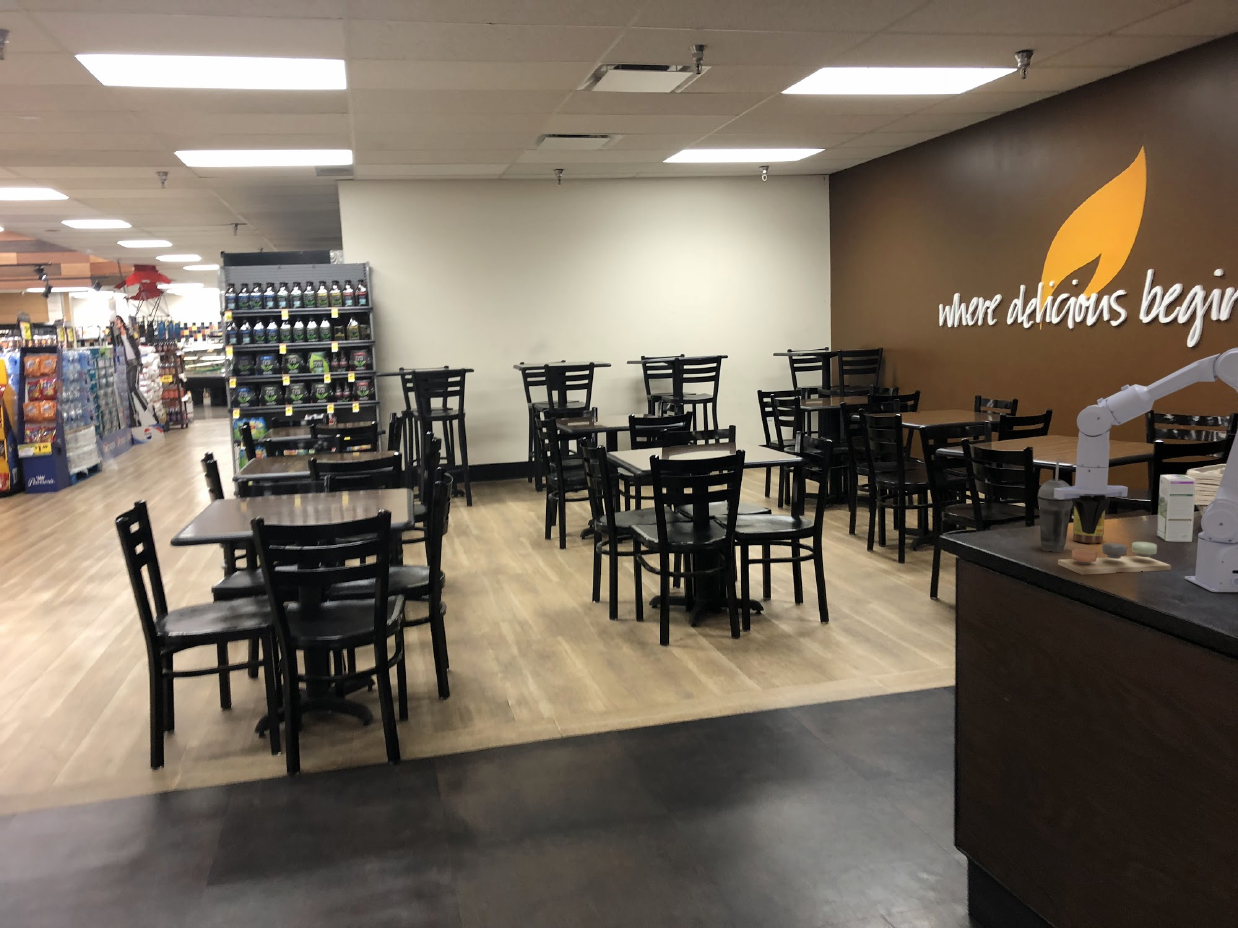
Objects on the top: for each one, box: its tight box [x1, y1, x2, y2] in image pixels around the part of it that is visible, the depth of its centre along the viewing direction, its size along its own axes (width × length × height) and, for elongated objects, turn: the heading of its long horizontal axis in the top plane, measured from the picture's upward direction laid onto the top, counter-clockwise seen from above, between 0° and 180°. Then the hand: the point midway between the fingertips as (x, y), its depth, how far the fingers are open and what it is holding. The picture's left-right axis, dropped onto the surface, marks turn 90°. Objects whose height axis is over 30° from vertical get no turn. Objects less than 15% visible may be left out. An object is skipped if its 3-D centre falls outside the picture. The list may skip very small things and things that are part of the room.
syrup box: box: [1156, 473, 1197, 543], centre depth 211 cm, size 6×6×14 cm
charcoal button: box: [1101, 542, 1128, 559], centre depth 188 cm, size 4×4×2 cm
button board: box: [1057, 555, 1172, 576], centre depth 189 cm, size 19×8×1 cm, turn 97°
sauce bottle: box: [1072, 505, 1106, 544], centre depth 210 cm, size 7×6×20 cm
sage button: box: [1131, 541, 1158, 558], centre depth 189 cm, size 4×4×2 cm
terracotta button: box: [1071, 548, 1098, 565], centre depth 187 cm, size 4×4×2 cm
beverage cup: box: [1036, 458, 1074, 553], centre depth 202 cm, size 7×7×20 cm
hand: (1088, 532), depth 187 cm, fingers closed
